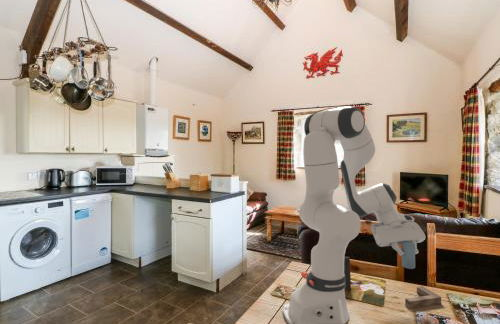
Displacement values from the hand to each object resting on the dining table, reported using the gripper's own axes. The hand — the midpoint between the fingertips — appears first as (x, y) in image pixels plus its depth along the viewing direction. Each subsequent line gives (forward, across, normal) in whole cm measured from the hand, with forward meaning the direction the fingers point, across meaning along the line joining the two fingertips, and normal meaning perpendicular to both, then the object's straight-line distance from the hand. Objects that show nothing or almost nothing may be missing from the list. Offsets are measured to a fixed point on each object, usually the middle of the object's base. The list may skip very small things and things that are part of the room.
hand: (409, 254), depth 102 cm
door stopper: (+1, -19, +24) cm, 30 cm away
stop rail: (+13, +1, +12) cm, 17 cm away
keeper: (+3, 0, +4) cm, 5 cm away
